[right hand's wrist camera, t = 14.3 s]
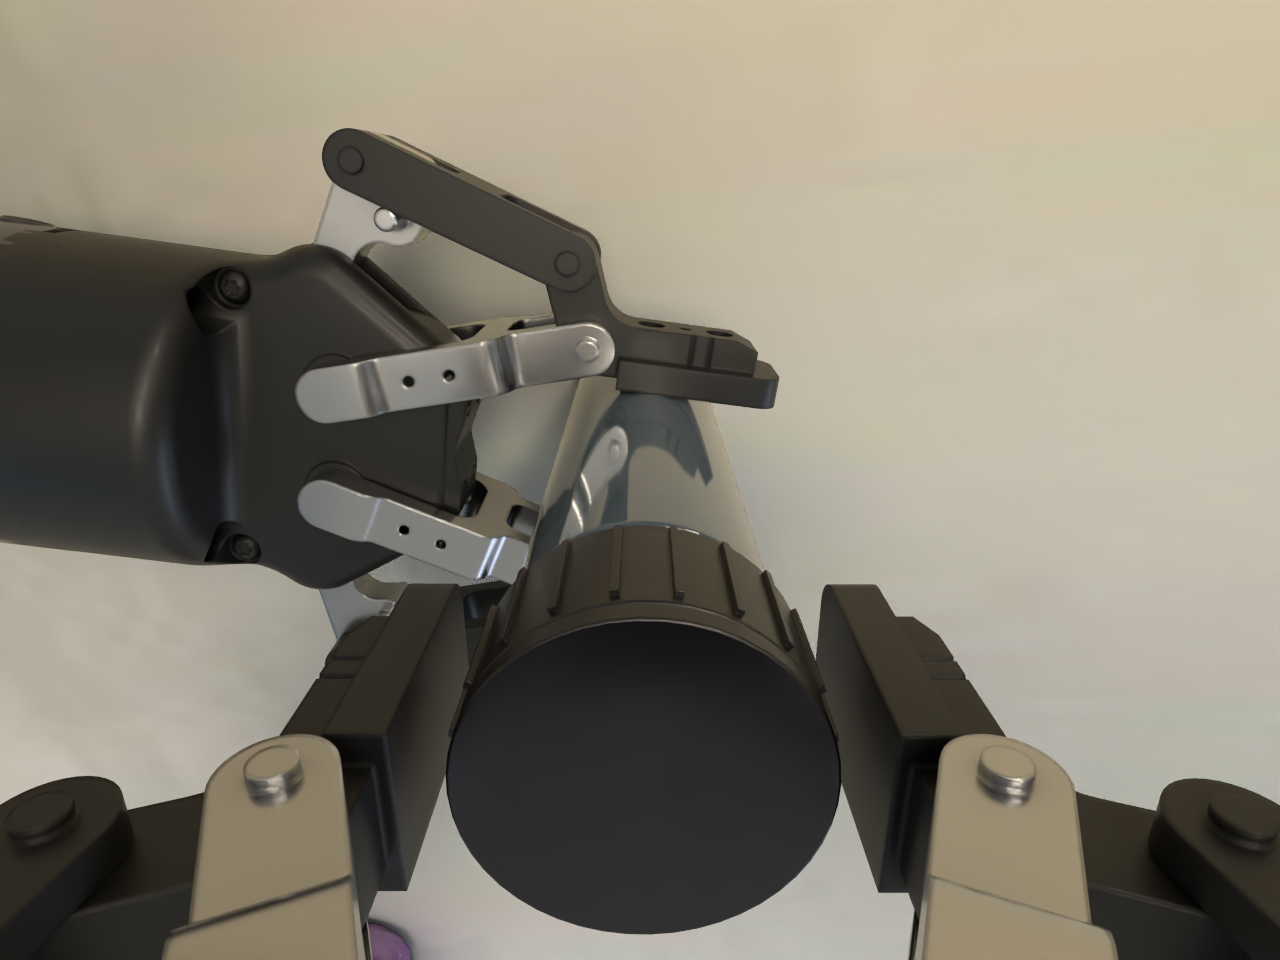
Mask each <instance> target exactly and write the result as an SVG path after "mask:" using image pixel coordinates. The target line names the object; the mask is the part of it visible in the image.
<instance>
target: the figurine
mask: <svg viewBox="0 0 1280 960" xmlns="http://www.w3.org/2000/svg"><path fill="white" fill-rule="evenodd" d="M368 928H369V934H370V942H371V950H372V958H373V960H411V954H410V950H409V947H408V945H407V944H406V943H405V941H404V939H403V937H400V936H398V935H396V934H395V933H393V932H392V931H390V930H389V929H387V928H386V927H383V926H380V925H377V924H368Z"/></svg>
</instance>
